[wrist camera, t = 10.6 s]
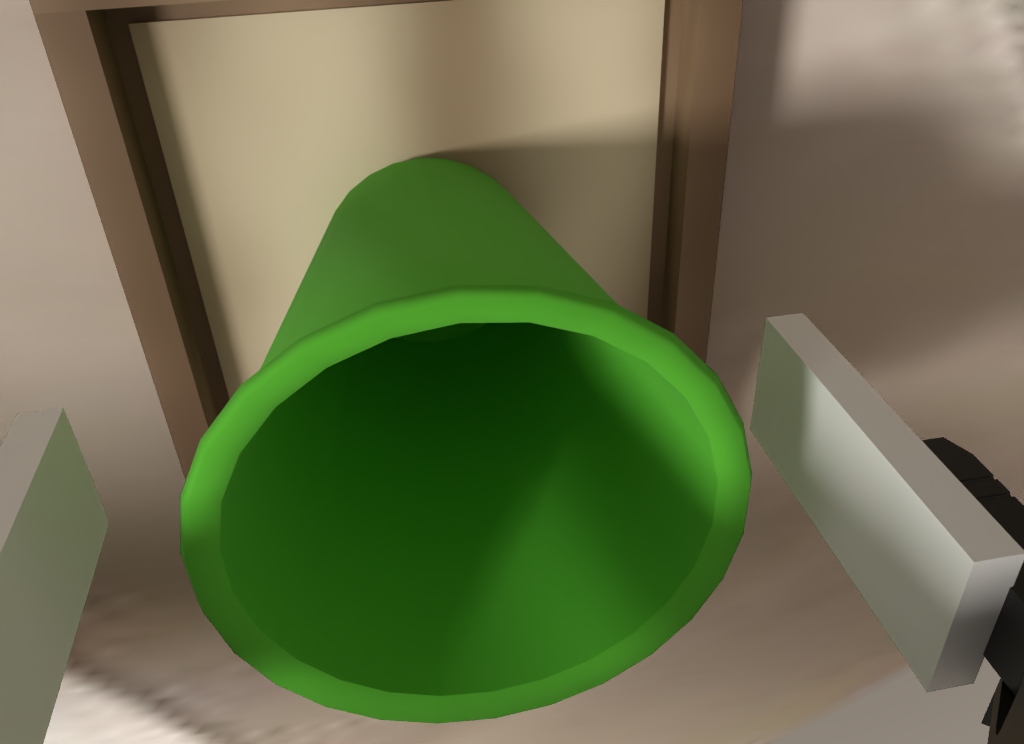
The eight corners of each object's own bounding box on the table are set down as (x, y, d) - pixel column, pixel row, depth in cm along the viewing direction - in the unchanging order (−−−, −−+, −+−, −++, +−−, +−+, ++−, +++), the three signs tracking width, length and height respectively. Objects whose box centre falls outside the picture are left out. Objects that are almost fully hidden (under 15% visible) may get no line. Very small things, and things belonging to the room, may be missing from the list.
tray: (208, 478, 27) (199, 523, 25) (45, -55, 19) (15, -40, 17) (676, 418, 29) (696, 456, 27) (719, -97, 20) (751, -88, 19)
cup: (657, 262, 24) (845, 543, 15) (408, 442, 26) (440, 785, 17) (453, -12, 19) (545, 153, 10) (169, 234, 21) (38, 554, 12)
